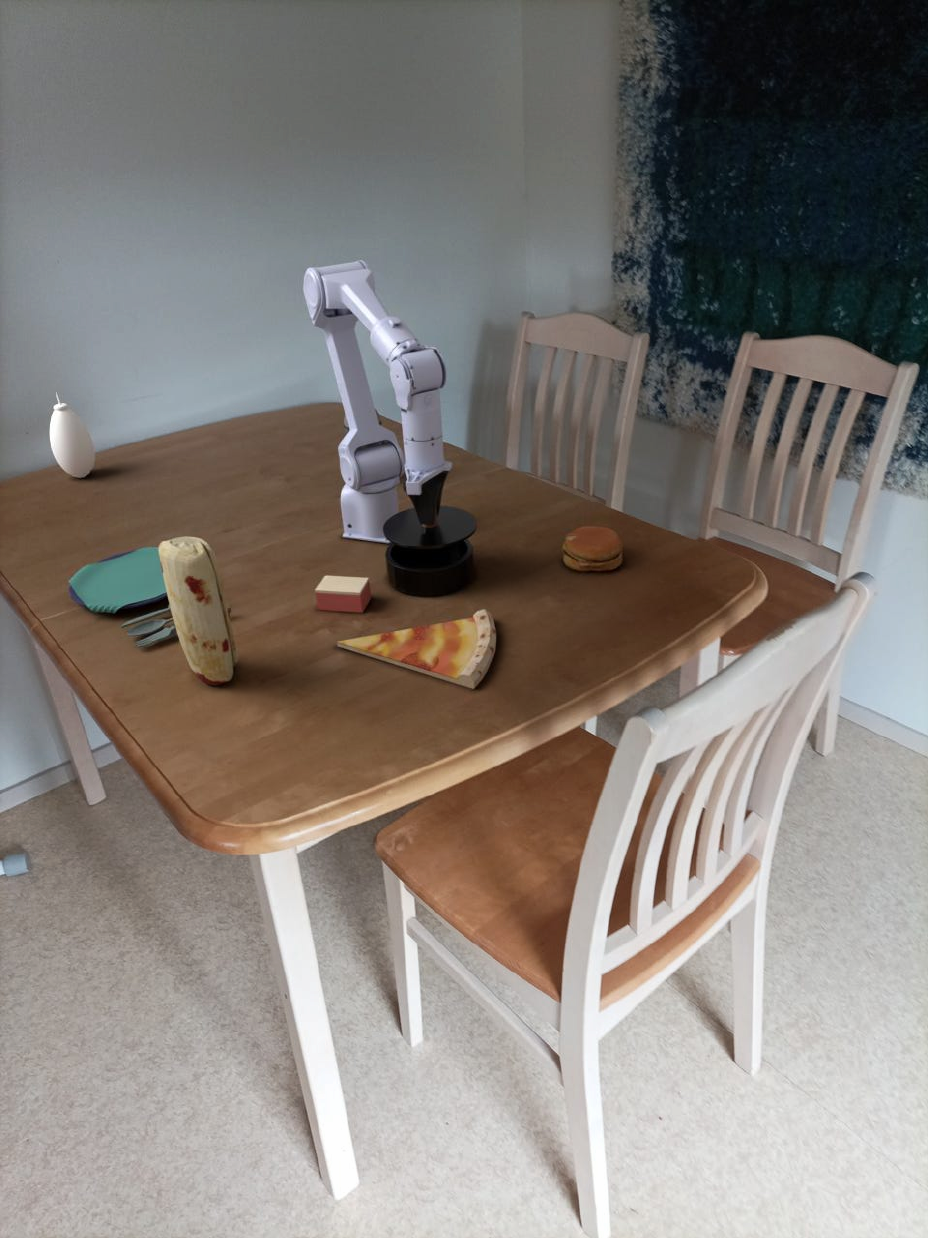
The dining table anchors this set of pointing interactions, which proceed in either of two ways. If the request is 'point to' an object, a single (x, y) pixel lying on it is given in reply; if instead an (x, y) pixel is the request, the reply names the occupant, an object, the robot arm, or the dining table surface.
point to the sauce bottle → (71, 441)
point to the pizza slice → (437, 648)
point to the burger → (592, 549)
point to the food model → (199, 607)
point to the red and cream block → (343, 594)
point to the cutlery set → (126, 590)
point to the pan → (430, 569)
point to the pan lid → (430, 529)
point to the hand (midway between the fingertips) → (429, 519)
